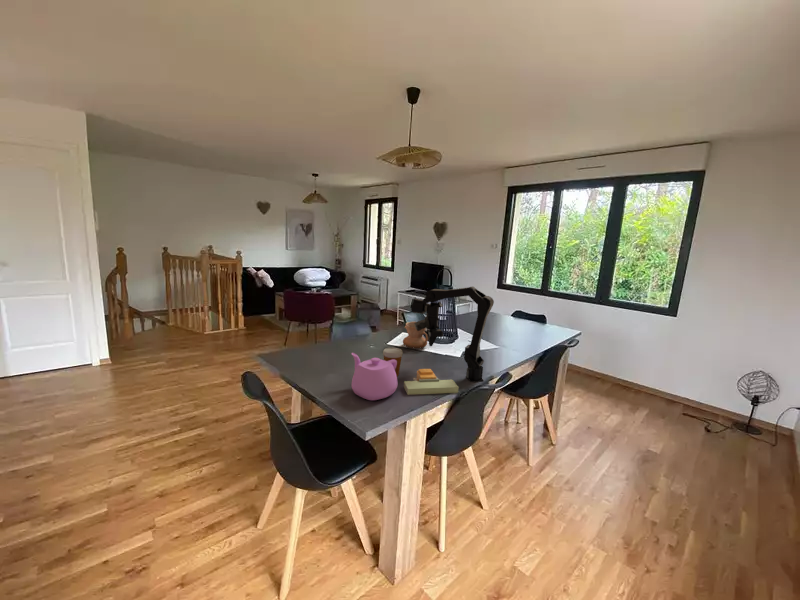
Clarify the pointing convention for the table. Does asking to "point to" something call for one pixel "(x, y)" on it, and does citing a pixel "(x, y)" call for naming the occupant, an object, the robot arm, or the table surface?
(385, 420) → the table surface
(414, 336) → the ceramic jug
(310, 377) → the table surface
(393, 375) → the teapot
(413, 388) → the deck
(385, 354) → the disposable coffee cup
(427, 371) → the orange block with panel
